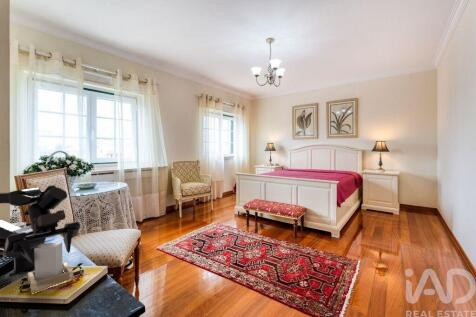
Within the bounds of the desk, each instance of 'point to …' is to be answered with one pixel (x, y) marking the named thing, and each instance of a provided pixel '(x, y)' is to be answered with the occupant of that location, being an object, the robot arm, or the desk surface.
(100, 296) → the desk surface
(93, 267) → the desk surface
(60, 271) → the skincare box
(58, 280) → the socket holder
